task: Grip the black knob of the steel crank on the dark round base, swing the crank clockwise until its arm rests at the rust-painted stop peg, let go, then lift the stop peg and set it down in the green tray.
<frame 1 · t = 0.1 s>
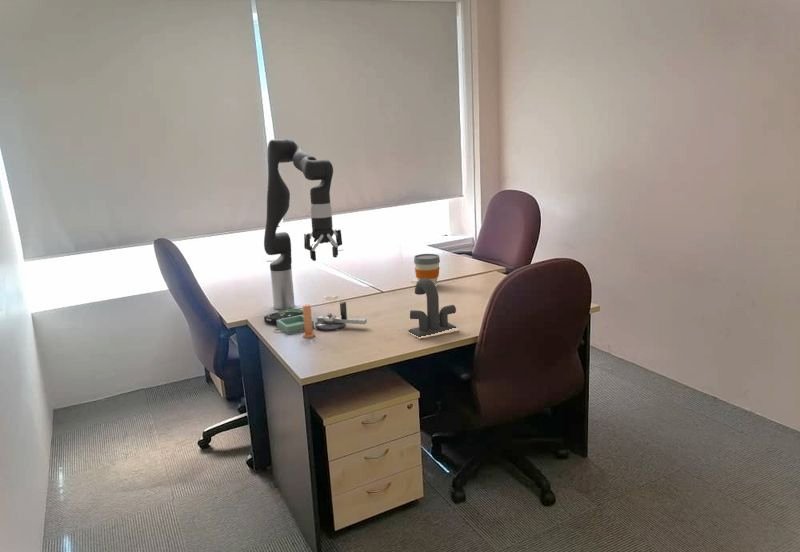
hand: (324, 258, 216), 29 cm above the table, fingers open, 8 cm apart
stop peg: (309, 336, 220), on the table
reusable coffee cup: (427, 286, 285), on the table
tray: (295, 327, 230), on the table
crank base: (330, 325, 231), on the table
crank: (341, 312, 228), point 6 cm above the table, hinge at 40.0°
disk drive: (286, 320, 241), on the table, touching tray
faucet: (428, 329, 223), on the table
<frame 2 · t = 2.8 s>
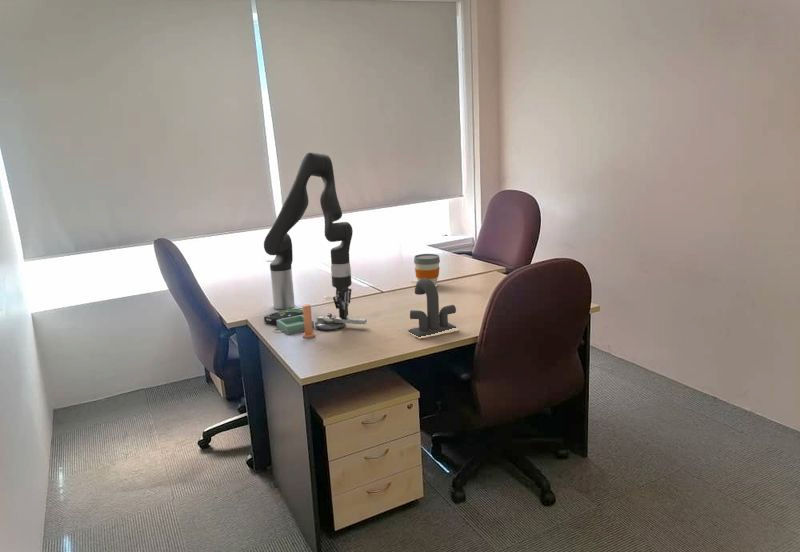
hand: (343, 316, 228), 4 cm above the table, fingers closed on crank, 2 cm apart
crank: (341, 312, 228), point 6 cm above the table, hinge at 40.0°, touching gripper
everything else where it was.
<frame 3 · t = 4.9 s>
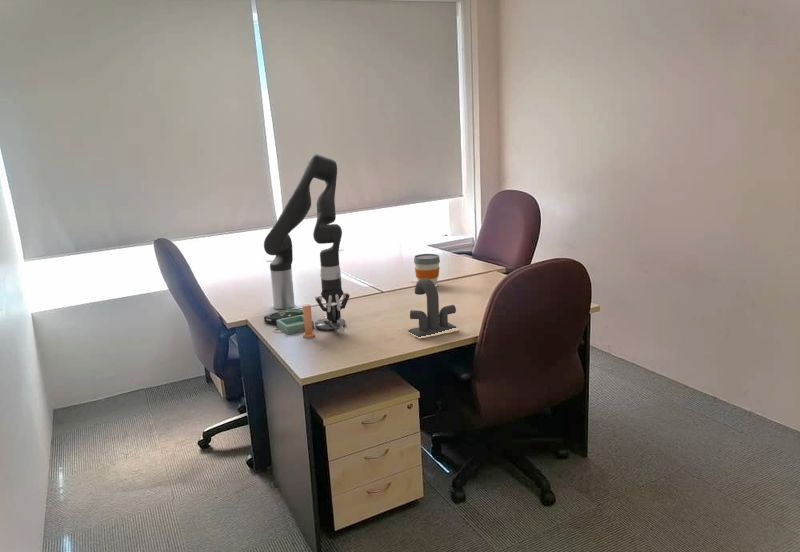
hand: (334, 319, 225), 4 cm above the table, fingers closed on crank, 2 cm apart
crank: (333, 315, 225), point 6 cm above the table, hinge at -10.9°, touching gripper
everything else where it was.
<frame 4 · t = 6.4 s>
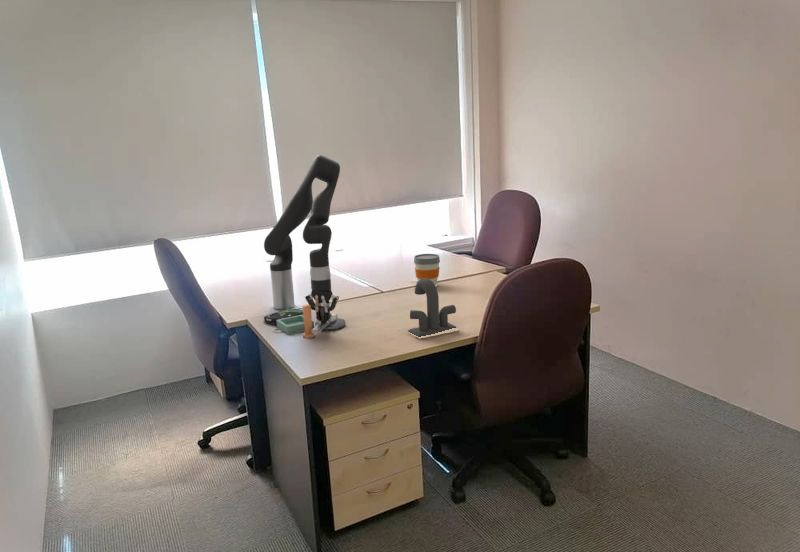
hand: (323, 320, 224), 4 cm above the table, fingers closed on crank, 2 cm apart
crank: (324, 315, 225), point 6 cm above the table, hinge at -49.2°, touching gripper
everything else where it was.
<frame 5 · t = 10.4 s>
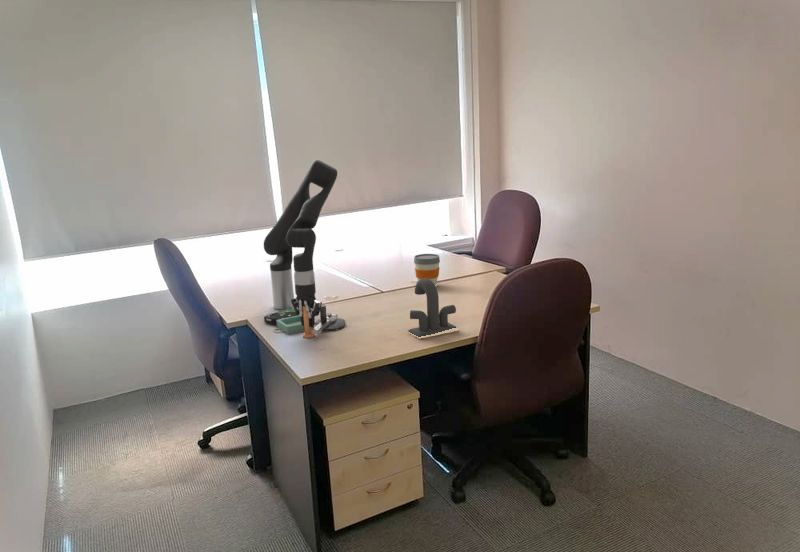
hand: (308, 325, 219), 4 cm above the table, fingers closed on stop peg, 3 cm apart
stop peg: (309, 336, 220), on the table, touching gripper
crank: (324, 315, 225), point 6 cm above the table, hinge at -49.2°
everything else where it was.
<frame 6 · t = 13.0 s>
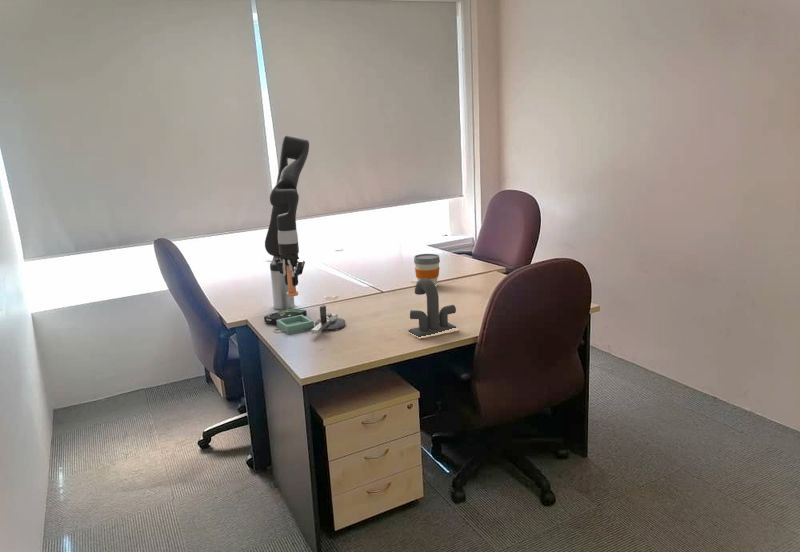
hand: (291, 284, 226), 18 cm above the table, fingers closed on stop peg, 3 cm apart
stop peg: (292, 294, 227), point 14 cm above the table, touching gripper
everything else where it was.
when the fingers open (6 cm above the table, at t = 15.3 s): stop peg stays where it is, resting on tray.
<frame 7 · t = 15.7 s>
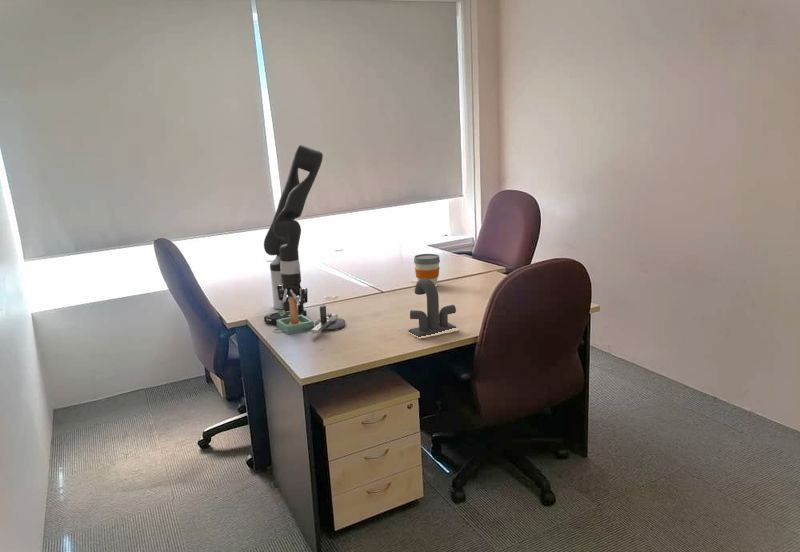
hand: (294, 312, 229), 6 cm above the table, fingers open, 6 cm apart
stop peg: (295, 325, 230), point 1 cm above the table, touching tray
everything else where it was.
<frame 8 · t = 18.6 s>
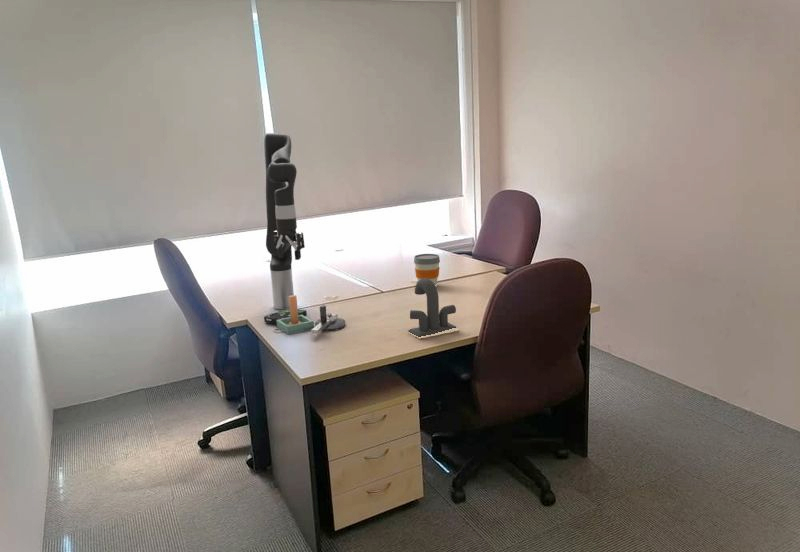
hand: (289, 258, 224), 28 cm above the table, fingers open, 8 cm apart
nothing on the table moved.
at the end: stop peg inside the target area on the tray (0.0 cm from its centre), point 1.0 cm above the tray's base; crank at -49° (first picture: +40°); the gripper is holding nothing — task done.
